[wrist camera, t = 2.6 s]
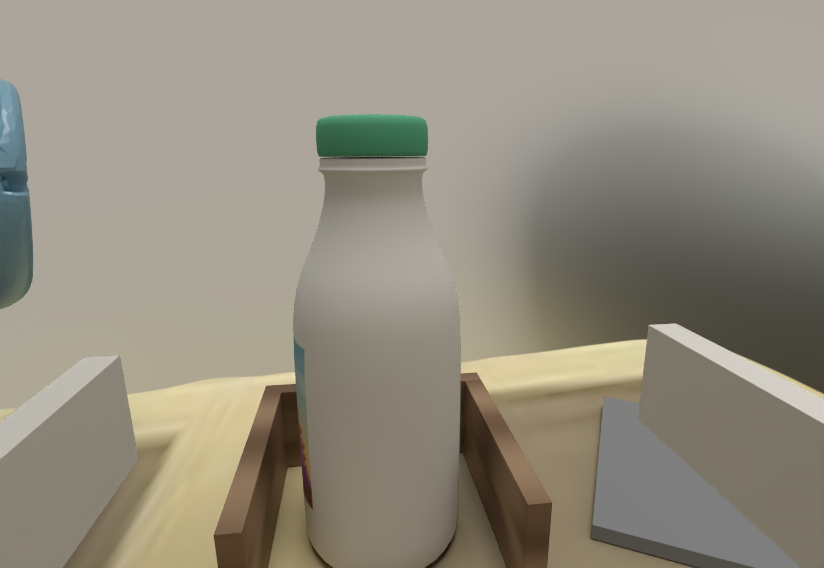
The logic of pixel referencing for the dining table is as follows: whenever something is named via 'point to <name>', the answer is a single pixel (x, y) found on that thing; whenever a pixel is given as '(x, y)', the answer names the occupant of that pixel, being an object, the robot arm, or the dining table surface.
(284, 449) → the wooden frame
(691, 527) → the grey tile
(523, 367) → the dining table surface
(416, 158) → the milk bottle
